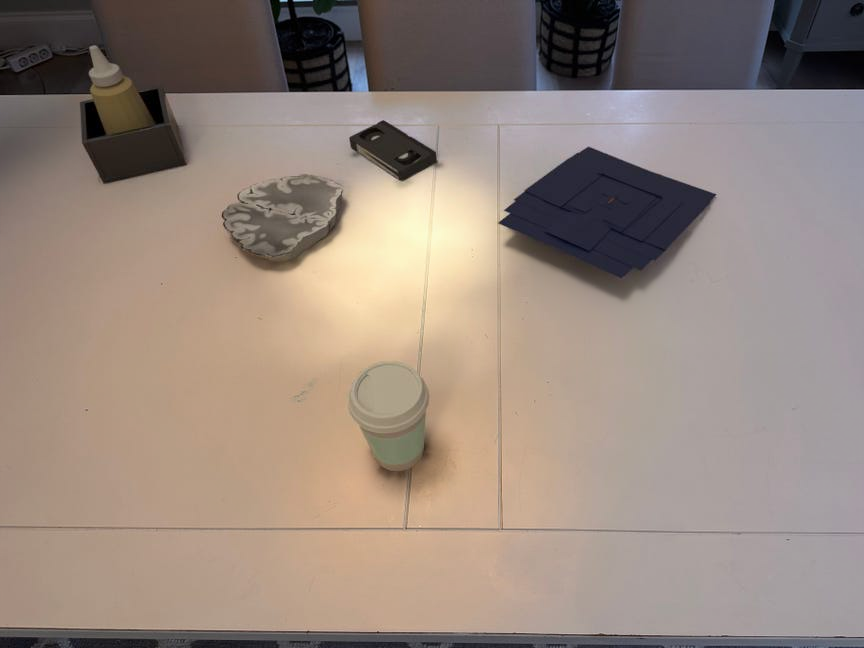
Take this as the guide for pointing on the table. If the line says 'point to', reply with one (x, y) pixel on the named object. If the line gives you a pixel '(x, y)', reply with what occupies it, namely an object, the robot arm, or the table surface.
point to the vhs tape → (393, 150)
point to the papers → (606, 211)
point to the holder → (133, 141)
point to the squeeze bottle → (116, 97)
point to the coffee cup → (391, 412)
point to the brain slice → (283, 215)
